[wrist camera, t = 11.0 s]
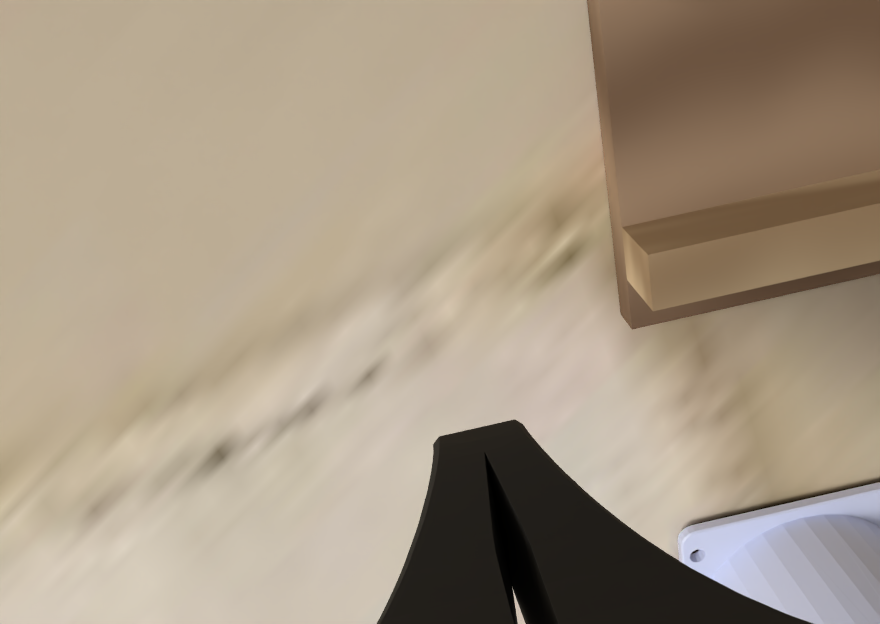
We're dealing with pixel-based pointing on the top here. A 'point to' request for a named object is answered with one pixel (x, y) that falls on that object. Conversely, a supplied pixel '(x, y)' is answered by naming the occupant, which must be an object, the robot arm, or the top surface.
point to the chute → (737, 148)
